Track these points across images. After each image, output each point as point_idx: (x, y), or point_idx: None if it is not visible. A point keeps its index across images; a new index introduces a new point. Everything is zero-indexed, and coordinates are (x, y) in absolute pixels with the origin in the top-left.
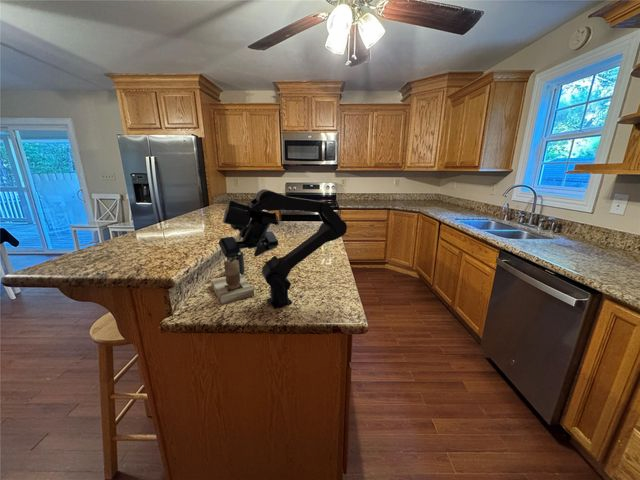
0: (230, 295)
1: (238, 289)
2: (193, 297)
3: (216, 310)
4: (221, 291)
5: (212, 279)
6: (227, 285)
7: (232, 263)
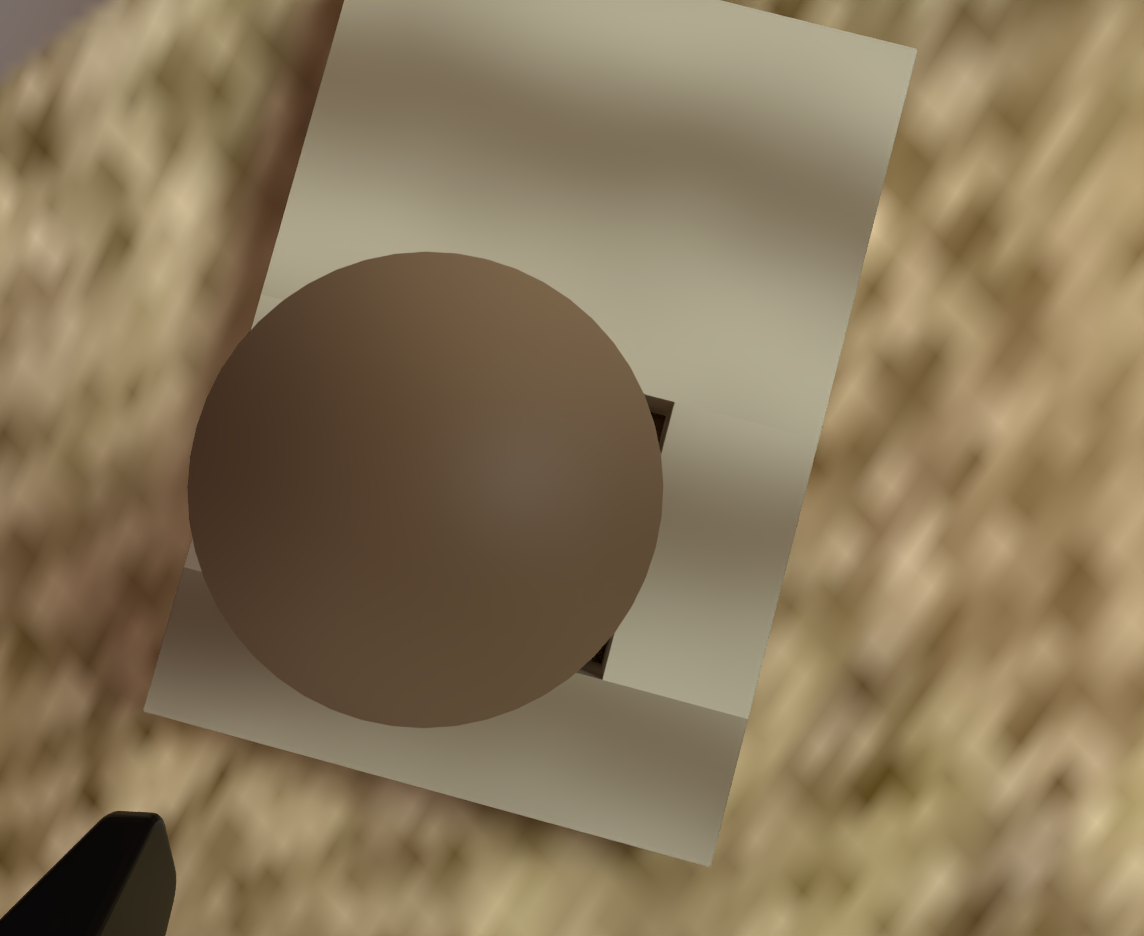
0: (296, 747)
1: None
2: (6, 162)
3: (47, 796)
4: None
5: None
6: None
7: (366, 647)
